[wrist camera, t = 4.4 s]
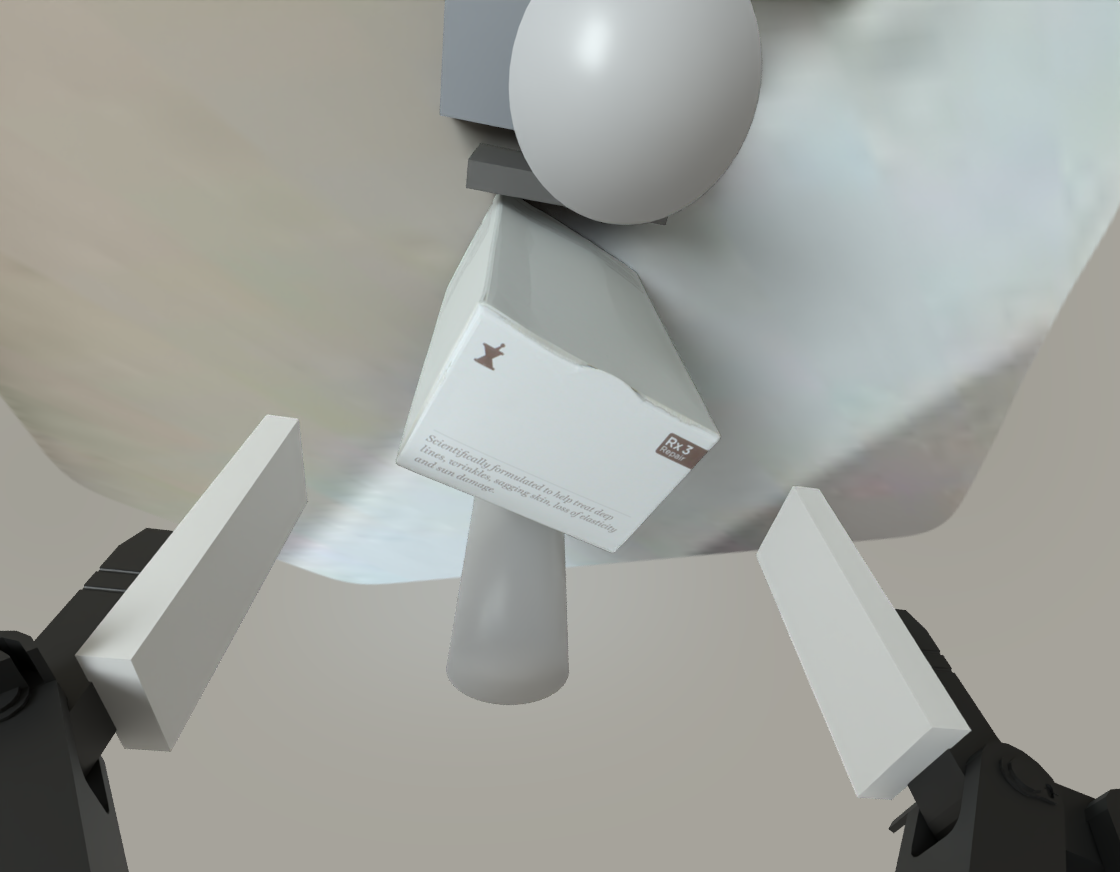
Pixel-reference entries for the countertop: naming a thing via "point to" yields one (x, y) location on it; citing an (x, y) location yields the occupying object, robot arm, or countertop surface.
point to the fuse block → (594, 192)
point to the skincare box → (554, 384)
